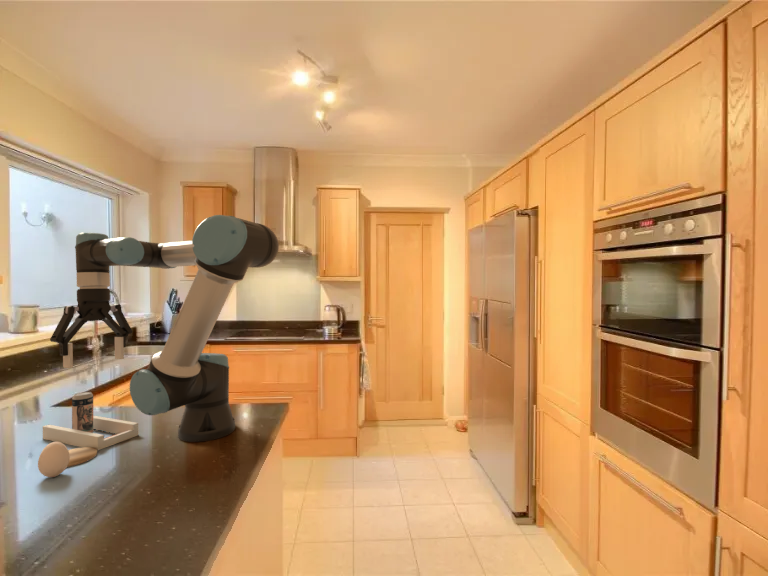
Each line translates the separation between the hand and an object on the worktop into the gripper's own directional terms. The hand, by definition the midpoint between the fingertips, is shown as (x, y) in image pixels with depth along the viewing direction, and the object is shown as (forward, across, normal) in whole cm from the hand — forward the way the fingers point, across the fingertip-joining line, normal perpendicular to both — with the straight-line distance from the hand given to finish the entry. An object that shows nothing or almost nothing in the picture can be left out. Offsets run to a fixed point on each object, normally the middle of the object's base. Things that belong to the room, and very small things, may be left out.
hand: (95, 363), depth 107 cm
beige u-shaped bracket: (+21, 0, -2) cm, 21 cm away
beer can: (+21, 0, -6) cm, 22 cm away
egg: (+22, +18, +14) cm, 32 cm away
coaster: (+21, +11, +8) cm, 25 cm away
